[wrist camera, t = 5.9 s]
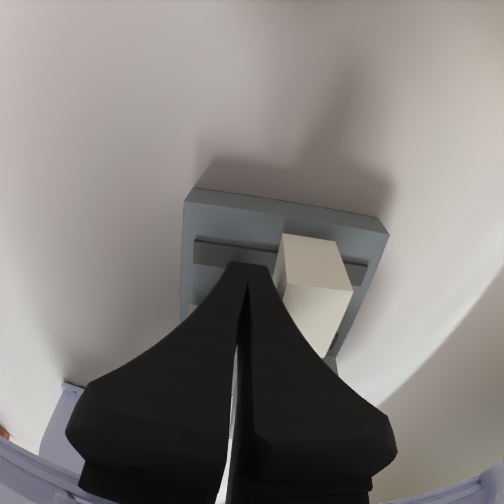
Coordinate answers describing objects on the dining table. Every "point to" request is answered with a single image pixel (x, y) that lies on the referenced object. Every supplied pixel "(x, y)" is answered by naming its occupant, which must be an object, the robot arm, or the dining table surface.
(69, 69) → the dining table surface
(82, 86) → the dining table surface
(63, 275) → the dining table surface
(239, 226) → the panel board
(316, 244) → the cream rectangular prism
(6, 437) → the control panel
